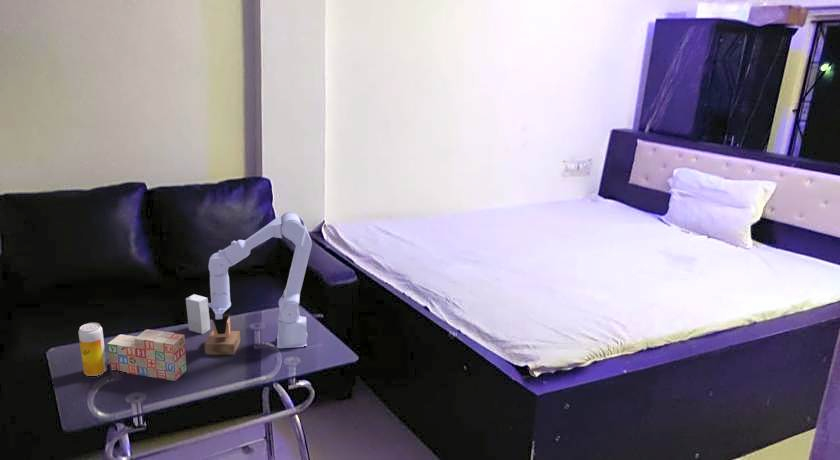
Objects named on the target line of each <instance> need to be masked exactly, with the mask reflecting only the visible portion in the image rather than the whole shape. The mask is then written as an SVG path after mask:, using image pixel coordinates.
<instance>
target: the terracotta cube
mask: <svg viewBox="0 0 840 460" xmlns="http://www.w3.org/2000/svg"><path fill="white" fill-rule="evenodd" d="M230 317H231V316H230V315H229V318H228V320H227V323H226V331H225V334H218V332H217V329H216V326H215V324H214V322H213V331H214V337H229V334H230V331H231V318H230Z"/></svg>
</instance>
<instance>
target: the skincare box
mask: <svg viewBox="0 0 840 460" xmlns="http://www.w3.org/2000/svg"><path fill="white" fill-rule="evenodd" d="M208 299H209V298H208V297H205V296H202V295H200V294H199V295H198V294H195V293H193V294H192V295H190V296H188V297H186V298H185V305H186V312H187V313H186V314H187V323H188V330H189V331H191V332H193V333H198V334H201V335H204V334H206V333H207V332H209V331H210V330H211V320H210V319H211V318H210V312H209V311H210V307H207V305H208V303H209V300H208Z"/></svg>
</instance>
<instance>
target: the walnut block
mask: <svg viewBox="0 0 840 460" xmlns="http://www.w3.org/2000/svg"><path fill="white" fill-rule="evenodd" d="M240 343H241V331H240V330H230V334H229V337H214V330H212V331H210V334H209V335H208V337H207V339H206V341H205V343H204V354H205V355H211V356H213V355H219V356H220V355H222V356H223V355H224V356H226V355H227V356H234V355H235V354H236V351H237V349H238V347H239V345H240Z"/></svg>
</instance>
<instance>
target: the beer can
mask: <svg viewBox="0 0 840 460" xmlns="http://www.w3.org/2000/svg"><path fill="white" fill-rule="evenodd" d="M103 330H104V329H103V327H102V326H101V324H100V323H98V322H88V323H84V324H83V325H81V326H80V327H79V330H78V339H79V347H80V354H81V361H82V368H83V374H84V375H86V376H87V377H88V376H97V377H99V376H98V375H100V376H102V375H104V374H105V373H106V371H107V370H108V365H107V358H106V357H107V356H106V348H105V341H104V331H103ZM104 372H105V373H104ZM103 373H104V374H103ZM101 374H102V375H101Z"/></svg>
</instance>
